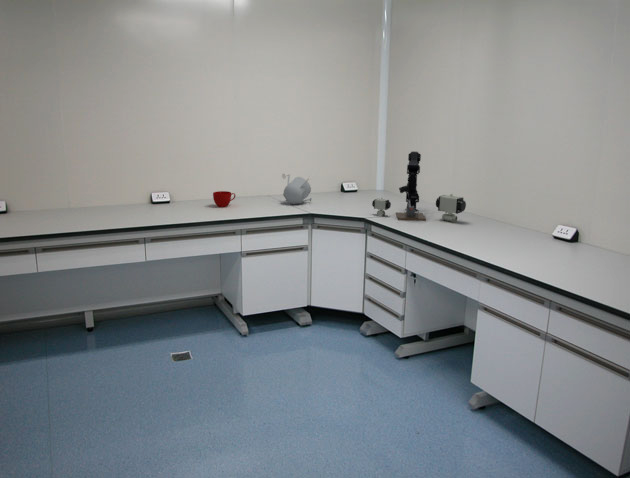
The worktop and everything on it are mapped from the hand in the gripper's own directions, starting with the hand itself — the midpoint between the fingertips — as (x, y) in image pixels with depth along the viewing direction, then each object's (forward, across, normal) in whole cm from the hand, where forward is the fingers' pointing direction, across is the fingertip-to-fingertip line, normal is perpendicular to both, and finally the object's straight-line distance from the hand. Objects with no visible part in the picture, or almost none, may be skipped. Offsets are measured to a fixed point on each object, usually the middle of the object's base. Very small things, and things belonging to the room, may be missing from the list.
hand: (411, 205), depth 361 cm
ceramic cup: (+9, -25, -131) cm, 133 cm away
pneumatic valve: (+8, -5, -19) cm, 21 cm away
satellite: (+9, -41, -79) cm, 90 cm away
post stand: (+8, 0, 0) cm, 8 cm away
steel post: (+7, 0, 0) cm, 7 cm away
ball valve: (+8, +8, +25) cm, 27 cm away
